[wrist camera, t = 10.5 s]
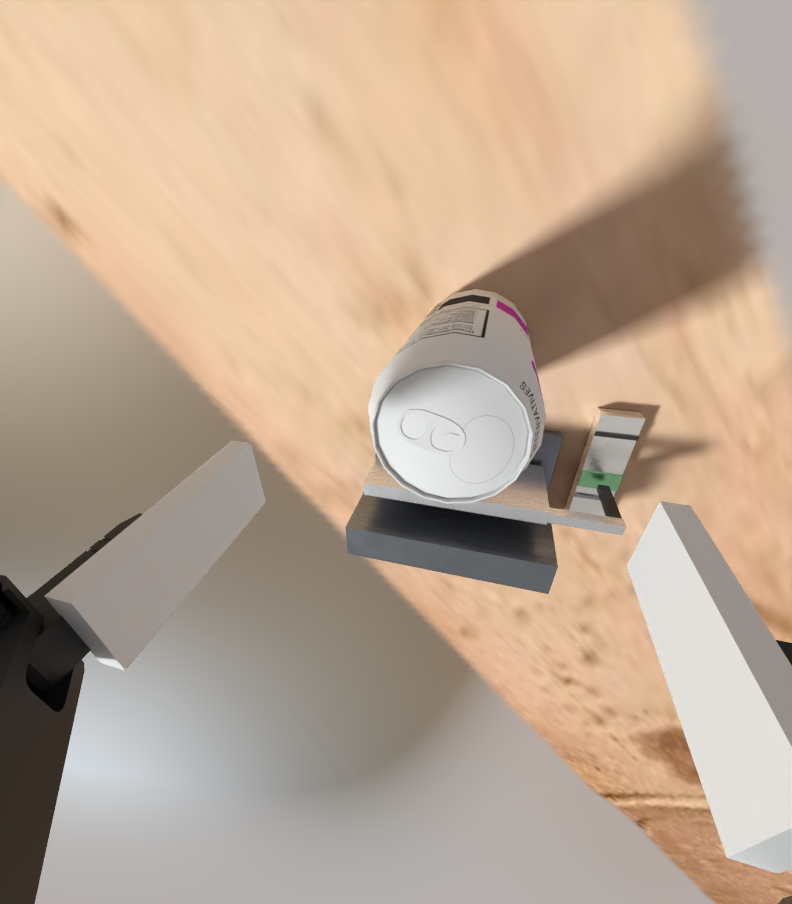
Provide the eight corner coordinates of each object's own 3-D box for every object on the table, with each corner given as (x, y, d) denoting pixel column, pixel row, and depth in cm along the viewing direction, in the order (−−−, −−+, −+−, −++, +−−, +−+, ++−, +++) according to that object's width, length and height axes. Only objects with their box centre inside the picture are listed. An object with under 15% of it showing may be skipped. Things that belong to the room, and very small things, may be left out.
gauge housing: (375, 385, 32) (336, 434, 25) (640, 412, 28) (689, 481, 20) (378, 489, 38) (348, 553, 31) (595, 524, 34) (620, 608, 26)
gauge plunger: (384, 444, 34) (363, 482, 29) (607, 474, 30) (627, 524, 25) (384, 455, 34) (364, 494, 30) (602, 486, 31) (621, 537, 26)
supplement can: (550, 310, 26) (591, 391, 13) (499, 409, 30) (495, 536, 18) (441, 271, 26) (384, 315, 14) (408, 374, 31) (343, 476, 18)
